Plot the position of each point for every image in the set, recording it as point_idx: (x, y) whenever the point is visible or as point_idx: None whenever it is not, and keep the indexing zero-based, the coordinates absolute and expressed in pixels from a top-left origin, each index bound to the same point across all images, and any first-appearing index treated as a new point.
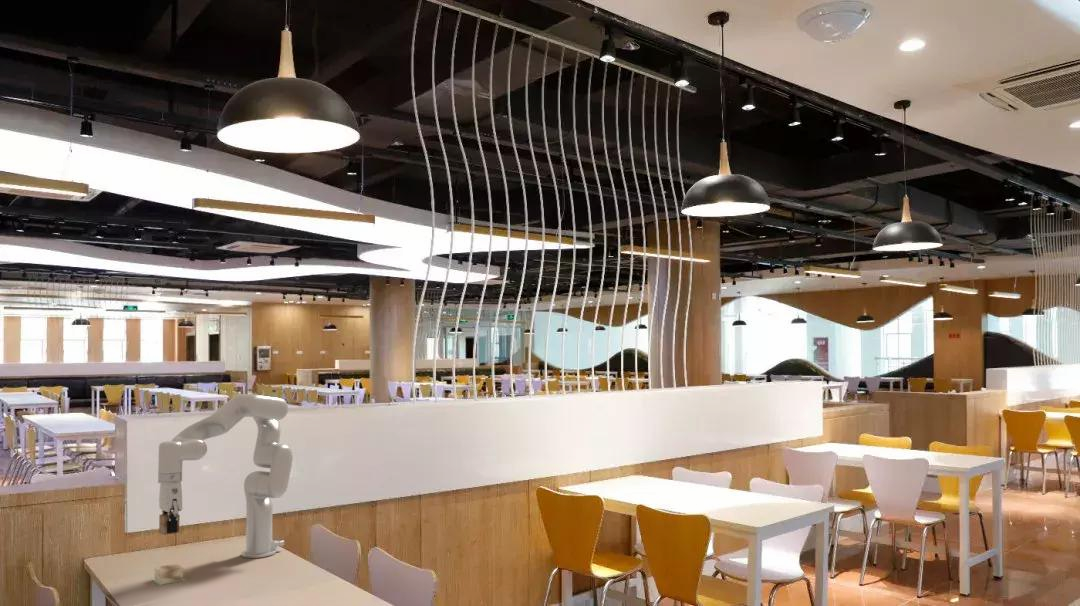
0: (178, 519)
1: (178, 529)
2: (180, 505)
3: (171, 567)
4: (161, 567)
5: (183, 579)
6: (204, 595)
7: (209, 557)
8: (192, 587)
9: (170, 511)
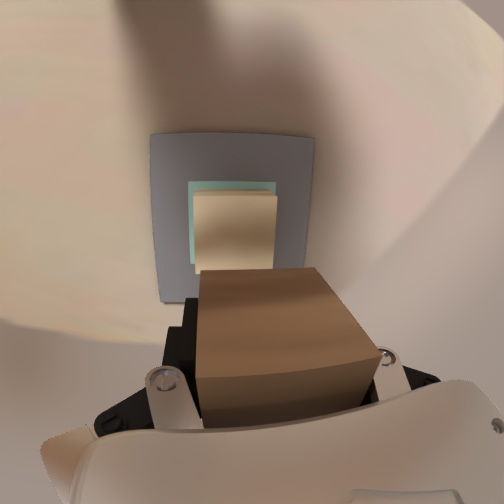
0: (356, 332)
1: (321, 283)
2: (493, 422)
3: (240, 228)
4: (212, 256)
5: (270, 188)
6: (418, 198)
7: (49, 51)
8: (344, 189)
9: (201, 428)
